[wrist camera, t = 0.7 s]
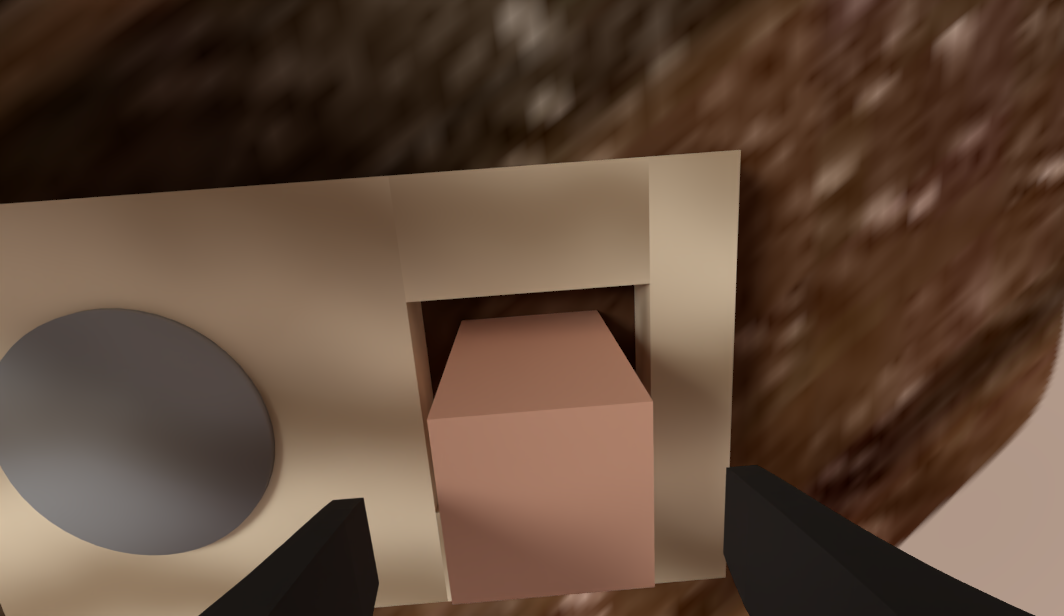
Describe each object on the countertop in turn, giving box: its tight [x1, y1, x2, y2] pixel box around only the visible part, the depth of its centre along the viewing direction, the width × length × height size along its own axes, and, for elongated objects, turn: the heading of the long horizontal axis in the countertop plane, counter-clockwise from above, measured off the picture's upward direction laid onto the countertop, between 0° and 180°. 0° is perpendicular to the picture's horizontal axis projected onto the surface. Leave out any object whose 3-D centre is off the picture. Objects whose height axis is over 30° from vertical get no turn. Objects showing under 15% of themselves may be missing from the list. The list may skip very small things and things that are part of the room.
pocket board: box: [0, 150, 741, 616], centre depth 16 cm, size 14×24×2 cm, turn 94°
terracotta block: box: [427, 310, 655, 605], centre depth 14 cm, size 4×4×7 cm
